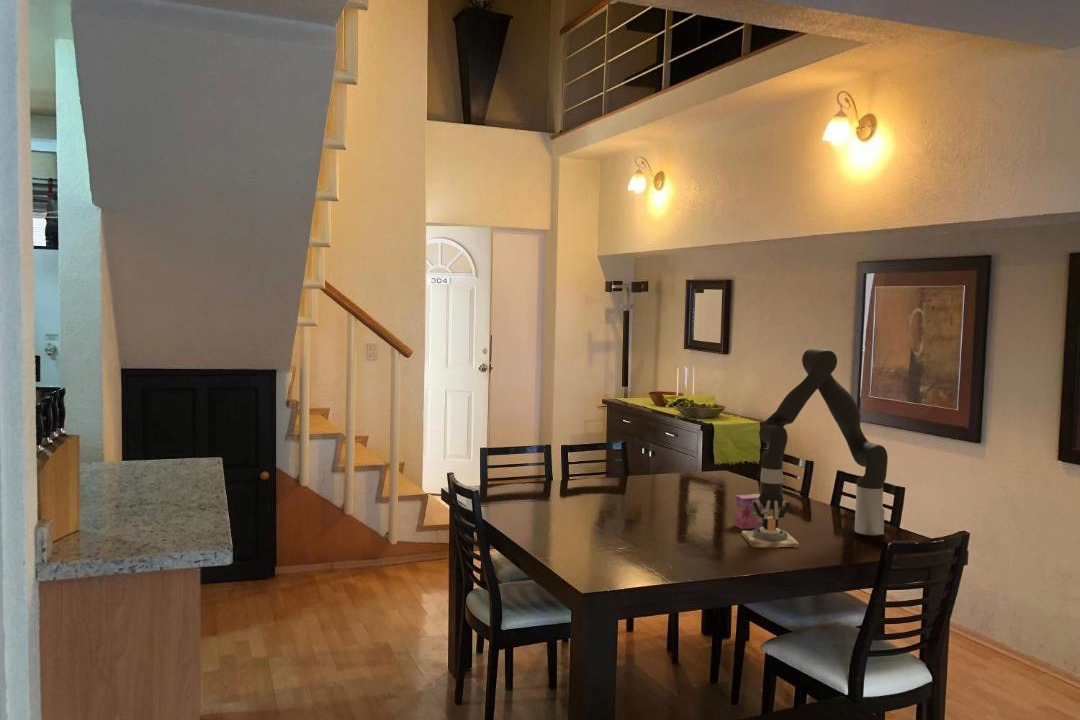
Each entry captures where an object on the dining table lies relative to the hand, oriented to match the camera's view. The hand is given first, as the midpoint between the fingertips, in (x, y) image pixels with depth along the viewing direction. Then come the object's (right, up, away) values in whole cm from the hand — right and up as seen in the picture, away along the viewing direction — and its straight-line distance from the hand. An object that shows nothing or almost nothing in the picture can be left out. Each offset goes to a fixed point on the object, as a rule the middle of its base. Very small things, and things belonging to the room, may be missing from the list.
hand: (769, 528), depth 304 cm
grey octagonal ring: (0, -3, 0) cm, 3 cm away
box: (-2, -3, +20) cm, 21 cm away
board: (0, -4, 0) cm, 4 cm away
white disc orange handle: (0, -2, 0) cm, 2 cm away
